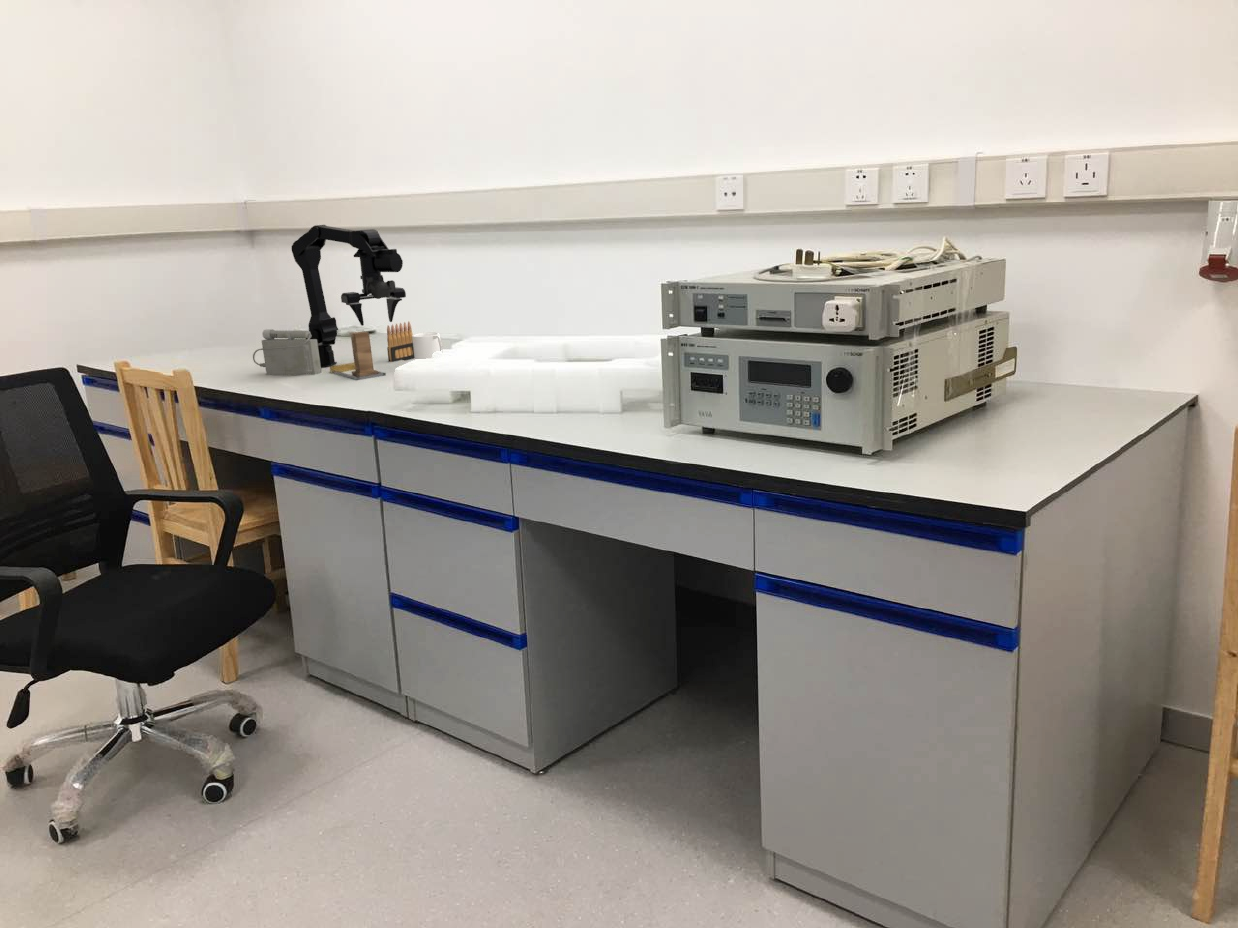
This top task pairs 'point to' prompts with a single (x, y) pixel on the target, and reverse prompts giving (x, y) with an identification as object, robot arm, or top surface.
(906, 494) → the top surface
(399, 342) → the ammunition clip
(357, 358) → the plate
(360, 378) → the track
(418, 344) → the cup
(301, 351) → the geiger counter
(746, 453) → the top surface
